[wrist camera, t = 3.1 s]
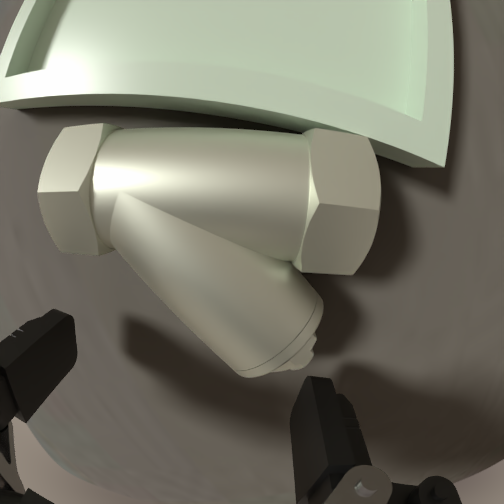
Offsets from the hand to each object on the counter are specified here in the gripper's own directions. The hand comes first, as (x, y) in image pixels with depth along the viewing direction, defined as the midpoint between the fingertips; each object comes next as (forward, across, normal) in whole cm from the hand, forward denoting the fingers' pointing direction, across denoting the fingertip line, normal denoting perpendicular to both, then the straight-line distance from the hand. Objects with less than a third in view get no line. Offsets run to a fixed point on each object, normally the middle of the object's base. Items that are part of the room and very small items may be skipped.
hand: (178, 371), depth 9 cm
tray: (+2, +2, -16) cm, 16 cm away
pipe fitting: (0, -1, 0) cm, 1 cm away
